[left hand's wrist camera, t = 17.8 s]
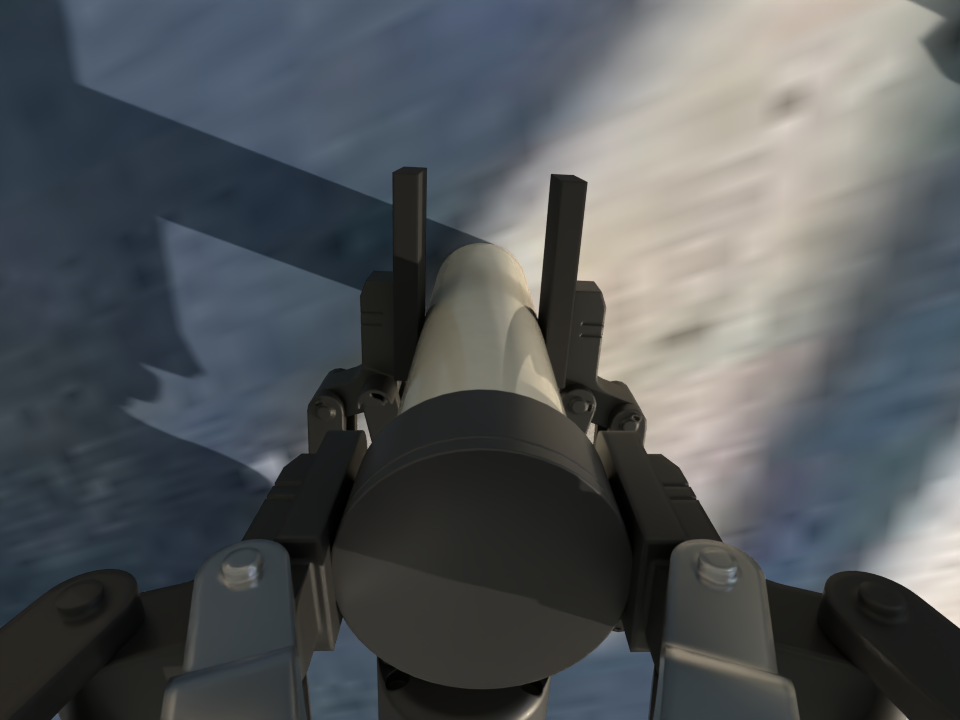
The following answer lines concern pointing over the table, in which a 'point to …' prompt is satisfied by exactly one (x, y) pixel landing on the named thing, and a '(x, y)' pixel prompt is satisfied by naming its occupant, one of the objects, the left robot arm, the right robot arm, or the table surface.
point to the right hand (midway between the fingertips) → (489, 175)
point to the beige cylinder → (481, 332)
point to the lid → (481, 543)
